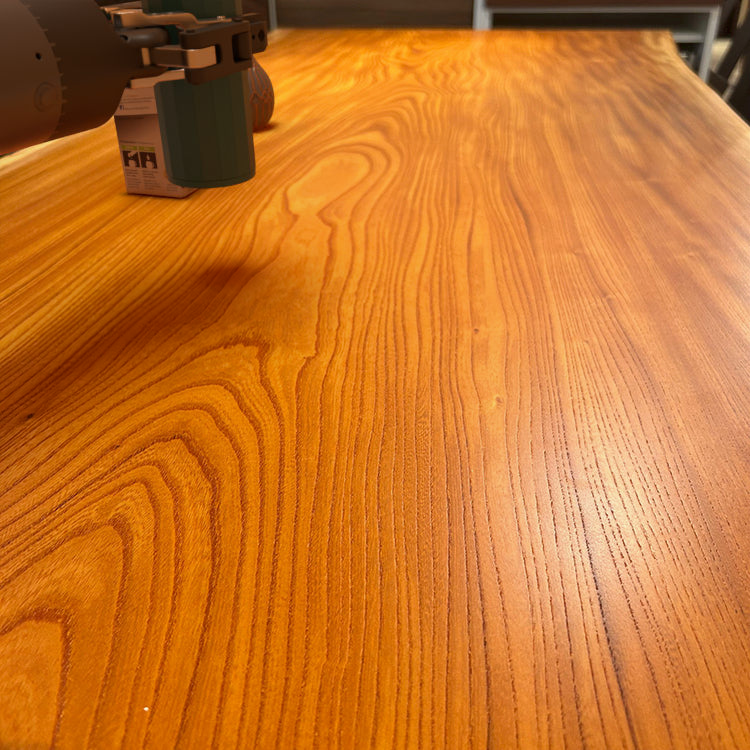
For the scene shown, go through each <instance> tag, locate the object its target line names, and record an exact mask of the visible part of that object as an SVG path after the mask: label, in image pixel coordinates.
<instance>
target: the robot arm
mask: <svg viewBox="0 0 750 750" xmlns="http://www.w3.org/2000/svg"><path fill="white" fill-rule="evenodd" d="M100 7H101V6H99V4H98V3H97V2H96V1H95V0H0V156H2V155H6V154H10V153H13V152H17V151H20V150H24V149H28V148H31V147H34V146H38V145H42V144H45V143H49V142H52V141H55V140H60V139H62V138H67V137H71V136H73V135H77V134H80V133H81V134H82V133H84V132H87V131H91V130H94V129H98V128H100V127H102V126H104V125H105V124H107V123H108V122H109V121H110V120H111V119H112V118H113V117H114V114H115V112H116V110H117V108H118V106H119V104H120V101H121V98H122V95H123V93H124V90H125V89H142V88H150V87H153V86H154V85H155V84H156V83H157V82H161V81H169V80H178V79H185V82H186V83H189V84H192V85H202V83H206V82H209V81H212V80H215V79H218V78H221V77H224V76H227V75H230V74H233V73H236V72H239V71H242V70H247V69H249V68H252V67H253V61H252V54H253V55H255V54H259V53H263V52H266V50H267V47H268V46H269V41H268V28H267V27H268V26H267V21H266V18H265V16H264V14H263V13H258V12H257V13H256V12H251V13H250V12H249V13H244V14H243V15H237V16H232V17H226V18H225V16H216V18H209V19H197V20H196V18H195V16H194V15H192V14H190V13H186V12H182V11H175V12H161V13H148V14H144V13H143V12H140V11H136V10H122V8H100ZM168 24H174V25H175V27H176V29H177V35H178V43H179V45H172V42H171V36H170V33H169V31H168V30H167V29H166V28H165V25H168Z"/></svg>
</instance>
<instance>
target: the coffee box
mask: <svg viewBox="0 0 750 750" xmlns="http://www.w3.org/2000/svg"><path fill="white" fill-rule="evenodd" d="M99 7H100V8H122V10H136V11H140V12H142V6H141V0H137V1H130V2H124V3H123V2H122V3H117V4H110V5H104V6H99ZM113 121H114V125H115V127H114V128H115V131H116V132H115V133H116V137H117V143H118V150H119V155H120V160H121V165H122V173H123V177H124V183H125V190H126V193H129V194H137V195H138V194H140V195H150V196H162V197H168V198H169V197H171V198H179V199H181V198H185V197H187V196H189V195H190V194H192V193H193V192H195V191H197V190H198V189H199V188H187V187H181V186H177V185H174V184H172V183H170V182H169V181H168V179H167V173H166V169H165V162H164V156H163V149H162V142H161V135H160V128H159V122H158V115H157V108H156V101H155V94H154V87H150V88H142V89H125V90H124V93H123V95H122V98H121V101H120V104H119V106H118V108H117V110H116V112H115V114H114V115H113Z"/></svg>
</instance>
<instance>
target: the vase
mask: <svg viewBox="0 0 750 750" xmlns="http://www.w3.org/2000/svg"><path fill="white" fill-rule="evenodd" d="M252 61H253V67H252V68H249V69H247V70H248V82H249V93H250V105H251V116H252V128H253V131H258V130H262V129H264V128H265V127H267V125H268V123H269V122H270V121H271V119H272V118H273V115H274V111H275V104H276V103H275V100H276V99H275V90H274V86H273V83H272V80H271V78H270V76H269V74H268V72H266V70H265V69H264V68H263V67H262V65H261V64H260V63H259V62H258V60H257V59H256V57H255V56H254V54H252Z"/></svg>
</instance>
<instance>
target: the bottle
mask: <svg viewBox="0 0 750 750" xmlns="http://www.w3.org/2000/svg"><path fill="white" fill-rule="evenodd" d="M140 1H141V6H142V12H143V13H144V14H148V13H161V12H175V11H182V12H186V13H190V14H192V15H194V16H195V18H196V20H197V19H209V18H216V16H225V18H226V17H232V16H237V15H243V2H242V0H140ZM165 28H166V29H167V30H168V31H169V33H170V36H171V42H172V45H179V43H178V35H177V29H176V27H175V25H174V24H168V25H165ZM153 87H154V94H155V101H156V108H157V115H158V122H159V128H160V135H161V142H162V149H163V156H164V162H165V169H166V173H167V179H168V181H169V182H170V183H172V184H174V185H177V186H181V187H187V188H198V189H203V190H204V189H205V190H206V189H221V188H227V187H233V186H238V185H240V184H241V185H242V184H243V183H246V182H248V181H251V180H252V179H254V177H256V175H257V169H256V168H257V164H256V153H255V152H256V151H255V140H254V130H253V128H252V116H251V105H250V93H249V82H248V70H242V71H239V72H236V73H233V74H230V75H227V76H224V77H221V78H218V79H215V80H212V81H209V82H206V83H202V85H192V84H189V83H186V82H185V79H178V80H169V81H161V82H157V83H156V84H155V85H154V86H153Z"/></svg>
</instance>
